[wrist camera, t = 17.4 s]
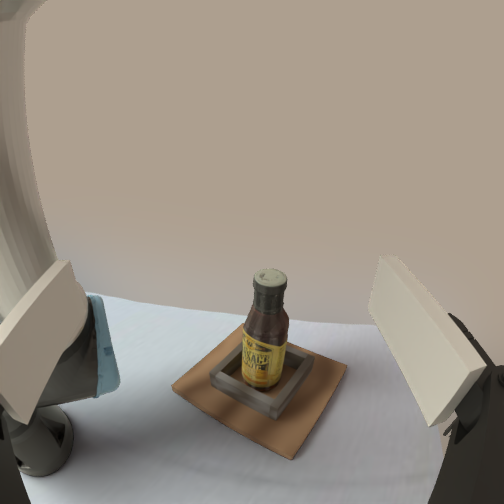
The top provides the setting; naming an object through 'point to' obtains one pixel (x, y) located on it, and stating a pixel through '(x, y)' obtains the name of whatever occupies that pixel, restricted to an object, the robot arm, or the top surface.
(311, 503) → the top surface
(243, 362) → the sauce bottle
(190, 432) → the top surface
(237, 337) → the socket block
